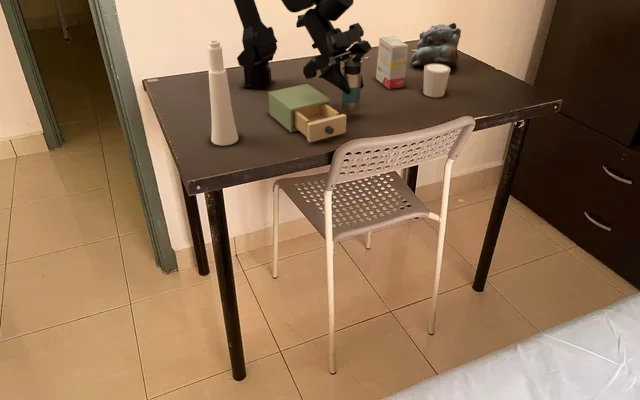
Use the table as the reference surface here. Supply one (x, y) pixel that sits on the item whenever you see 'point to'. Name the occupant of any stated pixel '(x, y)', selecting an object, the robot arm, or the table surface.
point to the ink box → (391, 62)
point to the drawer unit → (293, 103)
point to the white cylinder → (435, 79)
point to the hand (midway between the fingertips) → (355, 90)
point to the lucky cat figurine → (438, 46)
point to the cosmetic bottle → (220, 99)
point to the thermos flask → (352, 86)
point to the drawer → (319, 122)
